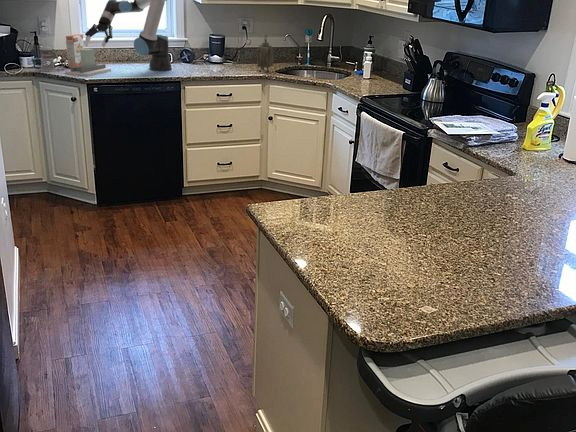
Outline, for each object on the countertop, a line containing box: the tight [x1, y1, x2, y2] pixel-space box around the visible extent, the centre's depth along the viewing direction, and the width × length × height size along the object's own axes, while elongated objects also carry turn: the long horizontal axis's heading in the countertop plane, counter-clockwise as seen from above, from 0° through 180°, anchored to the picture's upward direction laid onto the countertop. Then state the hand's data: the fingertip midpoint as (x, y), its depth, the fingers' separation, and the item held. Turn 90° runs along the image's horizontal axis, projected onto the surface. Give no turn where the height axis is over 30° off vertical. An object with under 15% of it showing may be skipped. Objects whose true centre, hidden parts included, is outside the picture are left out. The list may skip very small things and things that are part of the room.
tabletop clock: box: [256, 34, 275, 73], centre depth 435 cm, size 14×9×25 cm, turn 170°
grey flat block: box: [64, 62, 112, 77], centre depth 408 cm, size 18×24×4 cm
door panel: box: [80, 48, 96, 68], centre depth 406 cm, size 4×9×13 cm, turn 159°
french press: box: [39, 30, 59, 72], centre depth 404 cm, size 10×12×25 cm
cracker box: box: [65, 33, 85, 69], centre depth 423 cm, size 14×6×21 cm, turn 171°
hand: (94, 45), depth 410 cm, fingers open, 13 cm apart
